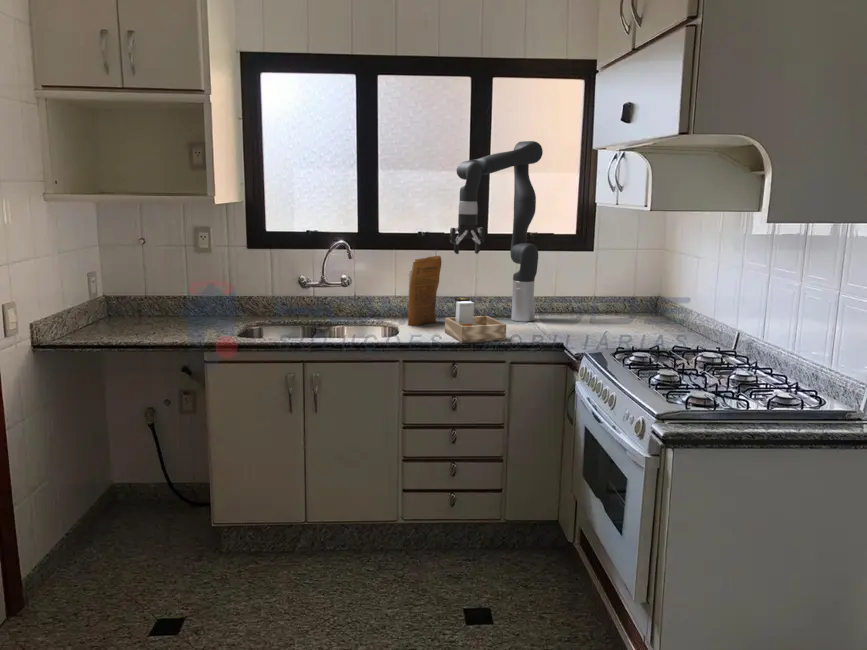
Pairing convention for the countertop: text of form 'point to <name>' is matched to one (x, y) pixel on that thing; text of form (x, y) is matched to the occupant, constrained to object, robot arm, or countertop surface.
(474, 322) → the box
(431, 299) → the pancake mix bag
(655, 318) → the countertop surface
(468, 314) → the skincare box
